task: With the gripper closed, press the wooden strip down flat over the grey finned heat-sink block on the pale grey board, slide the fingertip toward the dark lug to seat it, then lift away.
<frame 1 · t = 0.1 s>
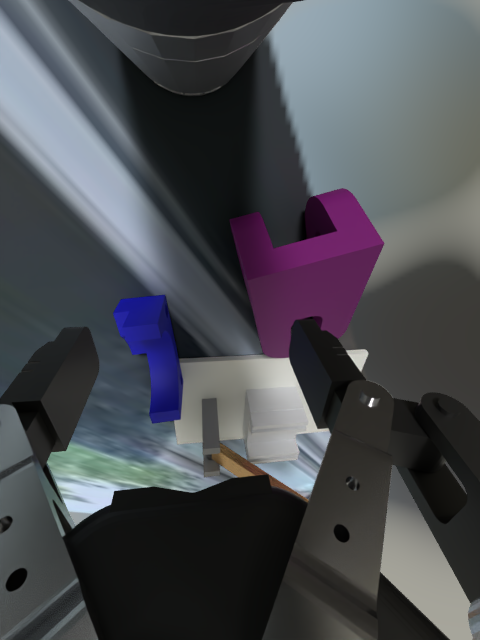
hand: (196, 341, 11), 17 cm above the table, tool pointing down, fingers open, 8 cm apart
mounting bracket: (288, 282, 31), on the table
cable clip: (155, 343, 32), on the table, touching board
wooden strip: (271, 488, 32), point 12 cm above the table, hinge at 40.0°
board: (263, 404, 42), on the table
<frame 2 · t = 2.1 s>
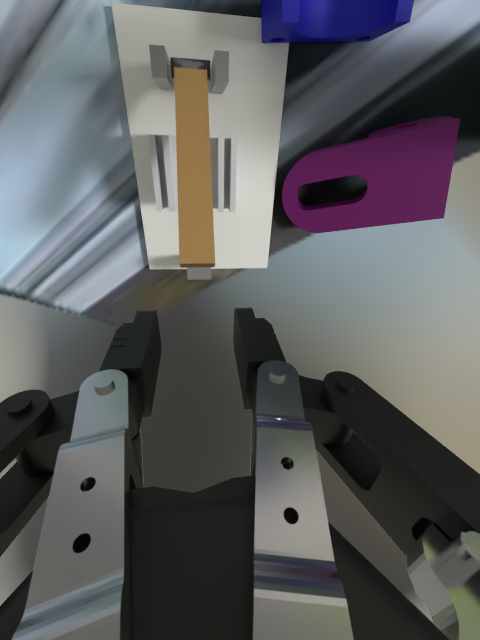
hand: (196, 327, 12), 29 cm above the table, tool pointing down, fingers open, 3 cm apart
mounting bracket: (345, 179, 38), on the table
cable clip: (318, 11, 28), on the table, touching board
wooden strip: (193, 159, 24), point 12 cm above the table, hinge at 40.0°
board: (195, 166, 34), on the table
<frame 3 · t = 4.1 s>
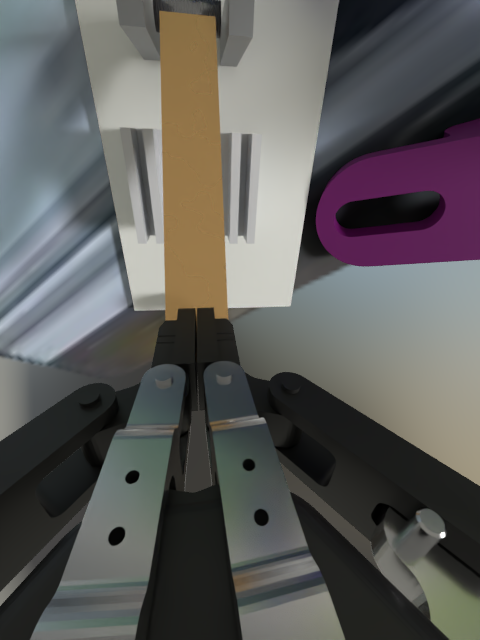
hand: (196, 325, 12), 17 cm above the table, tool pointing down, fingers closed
mounting bracket: (400, 193, 28), on the table
wooden strip: (192, 171, 14), point 11 cm above the table, hinge at 38.9°, touching gripper
board: (195, 173, 24), on the table
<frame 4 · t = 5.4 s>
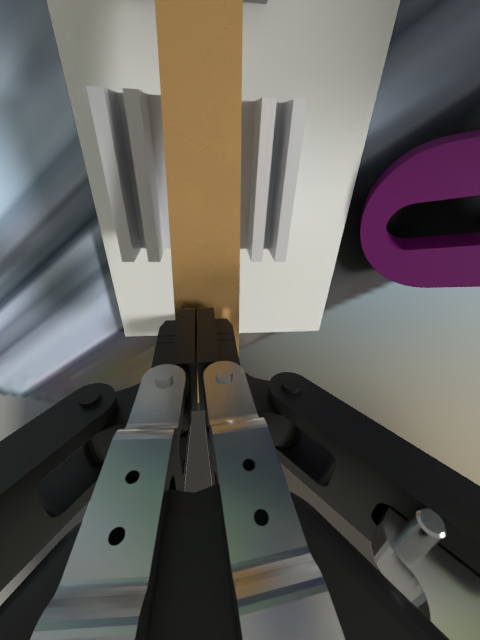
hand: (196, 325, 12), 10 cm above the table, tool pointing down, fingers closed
mounting bracket: (469, 192, 21), on the table
wooden strip: (204, 194, 11), point 8 cm above the table, hinge at 15.8°, touching gripper
board: (204, 163, 18), on the table
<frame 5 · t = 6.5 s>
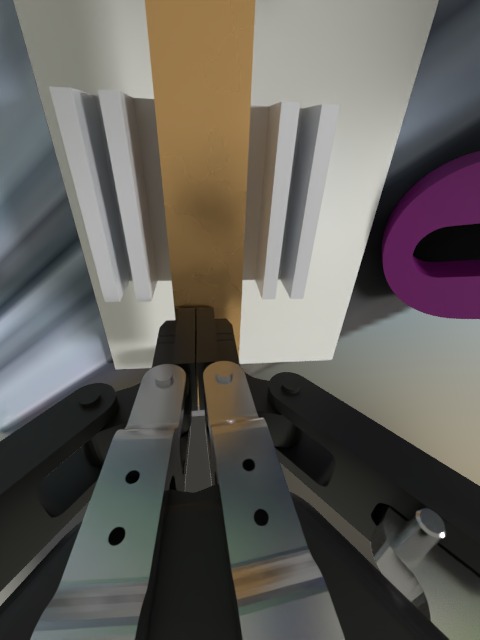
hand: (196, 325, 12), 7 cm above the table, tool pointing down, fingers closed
wooden strip: (206, 221, 10), point 6 cm above the table, hinge at 2.2°, touching gripper
board: (204, 178, 15), on the table
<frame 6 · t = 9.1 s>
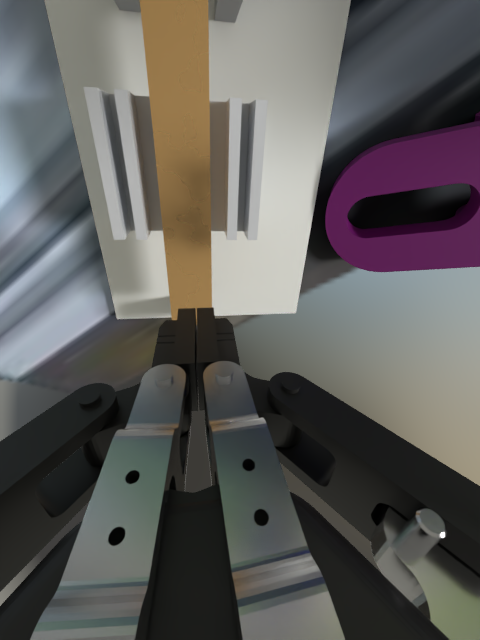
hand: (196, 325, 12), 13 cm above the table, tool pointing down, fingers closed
mounting bracket: (419, 189, 24), on the table
wooden strip: (184, 178, 16), point 6 cm above the table, hinge at 1.0°
board: (186, 158, 20), on the table
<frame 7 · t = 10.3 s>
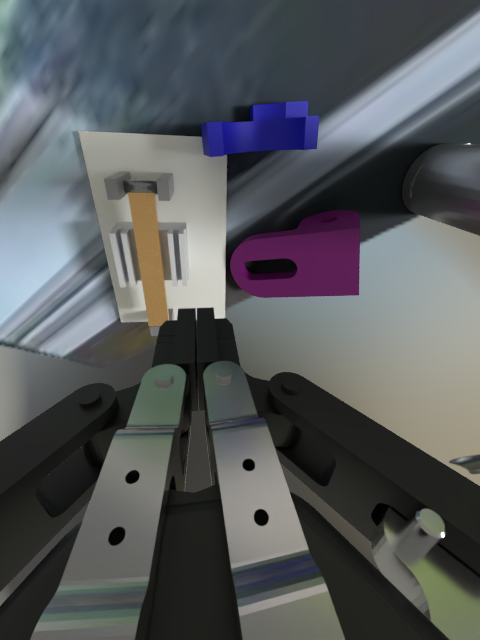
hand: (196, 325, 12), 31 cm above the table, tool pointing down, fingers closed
mounting bracket: (286, 251, 44), on the table
cable clip: (250, 129, 34), on the table, touching board
wooden strip: (151, 262, 36), point 6 cm above the table, hinge at 1.0°
board: (156, 242, 40), on the table
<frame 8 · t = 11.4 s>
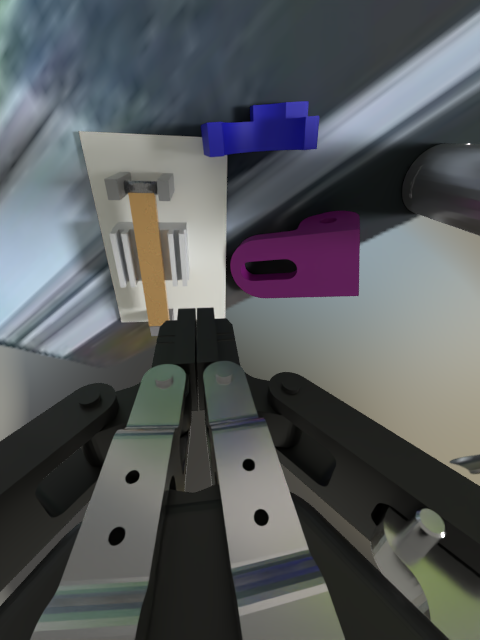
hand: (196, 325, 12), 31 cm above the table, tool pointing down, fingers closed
mounting bracket: (286, 252, 44), on the table
cable clip: (250, 129, 34), on the table, touching board
wooden strip: (151, 262, 36), point 6 cm above the table, hinge at 1.0°
board: (156, 242, 41), on the table
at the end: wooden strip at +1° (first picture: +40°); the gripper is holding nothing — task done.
